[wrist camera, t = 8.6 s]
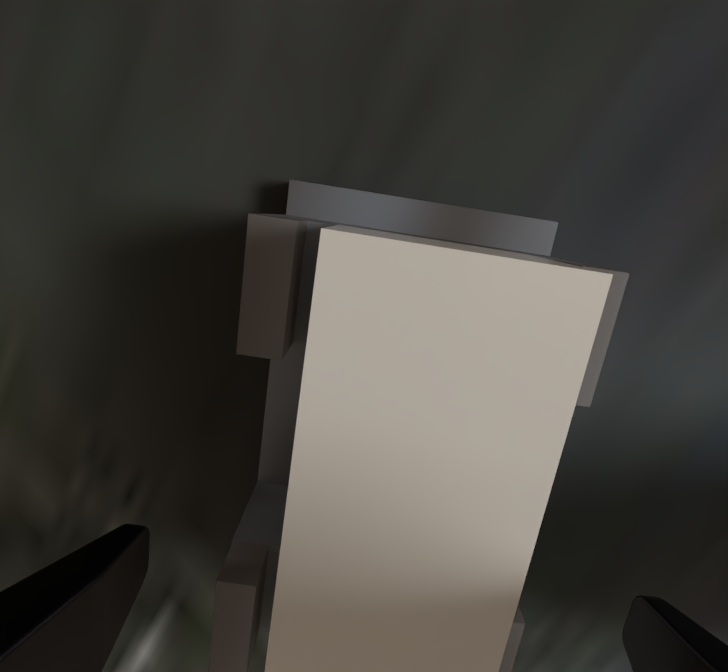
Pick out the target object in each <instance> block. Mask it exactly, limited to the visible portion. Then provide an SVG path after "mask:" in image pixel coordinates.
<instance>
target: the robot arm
mask: <svg viewBox="0 0 728 672" xmlns="http://www.w3.org/2000/svg"><path fill="white" fill-rule="evenodd" d="M149 536H150V534H149V529H148V528H147V527H146V526H140V525H133V524H124V525H122V526H120V527H118V528H116V529H114V530H112V531H111V532H109V533H107V534H105V535H103V536H102V537H100V538H98V539H96V540H94V541H92V542H91V543H89V544H87V545H85V546H83V547H81V548H80V549H78V550H76V551H74V552H72V553H70V554H69V555H67V556H65V557H63V558H61V559H59V560H58V561H56V562H54V563H52V564H50V565H49V566H47V567H45V568H43V569H41V570H39V571H38V572H36V573H34V574H32V575H30V576H28V577H27V578H25V579H23V580H21V581H19V582H17V583H16V584H14V585H12V586H10V587H8V588H7V589H5V590H3V591H1V592H0V672H101V671H102V669H103V667H104V665H105V663H106V661H107V659H108V657H109V655H110V653H111V651H112V648H113V646H114V644H115V642H116V640H117V638H118V635H119V633H120V631H121V629H122V627H123V625H124V622H125V620H126V618H127V616H128V614H129V612H130V609H131V607H132V605H133V603H134V601H135V599H136V596H137V594H138V592H139V590H140V588H141V586H142V583H143V581H144V579H145V576H146V573H147V569H148V560H149ZM623 643H624V646H625V649H626V652H627V655H628V658H629V660H630V663H631V666H632V669H633V671H634V672H728V646H727V645H726V644H725V643H723V642H722V641H720V640H719V639H718V638H716V637H715V636H713V635H712V634H711V633H709V632H708V631H706V630H705V629H704V628H702V627H701V626H699V625H698V624H697V623H695V622H694V621H693V620H691V619H690V618H688V617H687V616H686V615H684V614H683V613H681V612H680V611H679V610H677V609H676V608H674V607H673V606H672V605H670V604H669V603H667V602H666V601H665V600H663V599H661V598H658V597H651V596H644V595H640V596H637V597H636V598H635V599H634V601H633V603H632V606H631V608H630V611H629V614H628V617H627V620H626V622H625V625H624V628H623Z"/></svg>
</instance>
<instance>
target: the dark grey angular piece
mask: <svg viewBox="0 0 728 672" xmlns="http://www.w3.org/2000/svg"><path fill="white" fill-rule="evenodd" d="M334 225H345V226H351V227H358V228H364V229H370V230H377V231H383V232H389V233H396V234H402V235H408V236H414V237H421V238H427V239H433V240H440V241H446V242H452V243H459V244H465V245H471V246H478V247H484V248H490V249H496V250H503V251H509V252H515V253H522V254H528V255H532V256H536V257H541V258H545V259H549V260H554V261H558V262H562V263H567V264H571V265H575V266H579V267H584V268H588V269H592V270H597V271H601V272H605V273H610V274H613V277H612V281H611V284H610V287H609V291H608V294H607V298H606V301H605V305H604V308H603V312H602V315H601V319H600V322H599V326H598V329H597V332H596V336H595V339H594V343H593V346H592V350H591V353H590V357H589V360H588V364H587V367H586V371H585V374H584V377H583V381H582V384H581V388H580V391H579V395H578V398H577V402H576V405H579V406H586V407H590V405H591V402H592V398H593V395H594V392H595V388H596V385H597V381H598V378H599V375H600V371H601V368H602V365H603V361H604V358H605V355H606V351H607V348H608V344H609V341H610V338H611V334H612V331H613V328H614V324H615V321H616V317H617V314H618V311H619V307H620V304H621V301H622V297H623V294H624V290H625V287H626V284H627V280H628V277H629V274H630V273H626V272H621V271H616V270H612V269H607V268H602V267H598V266H594V265H589V264H584V263H580V262H575V261H570V260H565V259H561V258H556V257H551V256H550V254H551V250H552V246H553V242H554V238H555V234H556V230H557V226H558V222H553V221H547V220H541V219H534V218H528V217H522V216H516V215H509V214H503V213H497V212H490V211H484V210H478V209H472V208H465V207H459V206H453V205H446V204H440V203H434V202H428V201H421V200H415V199H409V198H403V197H396V196H390V195H384V194H377V193H371V192H365V191H359V190H352V189H346V188H340V187H333V186H327V185H321V184H315V183H308V182H302V181H296V180H290V181H289V191H288V200H287V209H286V215H283V214H253V213H248V223H247V235H246V246H245V258H244V269H243V281H242V292H241V304H240V315H239V327H238V338H237V350H236V354H240V355H246V356H253V357H260V358H266V359H270V368H269V378H268V387H267V396H266V406H265V415H264V424H263V434H262V443H261V452H260V462H259V471H258V480H257V483H256V486H255V488H254V490H253V493H252V495H251V497H250V499H249V502H248V504H247V506H246V509H245V511H244V513H243V516H242V518H241V520H240V523H239V525H238V527H237V529H236V532H235V534H234V536H233V539H232V544H231V548H230V550H229V552H228V555H227V557H226V559H225V562H224V564H223V566H222V569H221V571H220V573H219V576H218V578H217V581H216V590H215V602H214V613H213V625H212V636H211V648H210V659H209V670H208V672H248V668H249V664H250V661H251V657H252V653H253V650H254V646H255V642H256V639H257V635H258V631H259V630H261V631H268V632H270V625H271V618H272V610H273V602H274V594H275V586H276V578H277V570H278V563H279V555H280V547H281V539H282V531H283V523H284V515H285V508H286V500H287V492H288V484H289V476H290V468H291V461H292V453H293V445H294V437H295V429H296V421H297V413H298V406H299V398H300V390H301V382H302V374H303V366H304V358H305V351H306V343H307V335H308V327H309V319H310V311H311V304H312V296H313V288H314V280H315V272H316V264H317V256H318V249H319V241H320V233H321V228H324V227H329V226H334ZM524 628H525V621H524V618H523V616H522V613H521V610H520V608H519V605H518V606H517V609H516V613H515V616H514V620H513V623H512V627H511V630H510V634H509V637H508V641H507V644H506V647H505V651H504V654H503V658H502V661H501V665H500V668H499V672H512V668H513V665H514V661H515V658H516V655H517V651H518V648H519V645H520V641H521V638H522V634H523V631H524Z"/></svg>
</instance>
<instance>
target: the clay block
mask: <svg viewBox="0 0 728 672" xmlns="http://www.w3.org/2000/svg"><path fill="white" fill-rule="evenodd" d="M612 277H613V274H610V273H605V272H601V271H597V270H592V269H588V268H584V267H579V266H575V265H571V264H567V263H562V262H558V261H554V260H549V259H545V258H541V257H536V256H532V255H528V254H522V253H515V252H509V251H503V250H496V249H490V248H484V247H478V246H471V245H465V244H459V243H452V242H446V241H440V240H433V239H427V238H421V237H414V236H408V235H402V234H396V233H389V232H383V231H377V230H370V229H364V228H358V227H351V226H345V225H334V226H329V227H324V228H321V233H320V241H319V249H318V256H317V264H316V272H315V280H314V288H313V296H312V304H311V311H310V319H309V327H308V335H307V343H306V351H305V358H304V366H303V374H302V382H301V390H300V398H299V406H298V413H297V421H296V429H295V437H294V445H293V453H292V461H291V468H290V476H289V484H288V492H287V500H286V508H285V515H284V523H283V531H282V539H281V547H280V555H279V563H278V570H277V578H276V586H275V594H274V602H273V610H272V618H271V625H270V633H269V641H268V649H267V657H266V665H265V672H499V668H500V665H501V661H502V658H503V654H504V651H505V647H506V644H507V641H508V637H509V634H510V630H511V627H512V623H513V620H514V616H515V613H516V609H517V606H518V602H519V599H520V596H521V592H522V589H523V585H524V582H525V578H526V575H527V571H528V568H529V564H530V561H531V557H532V554H533V551H534V547H535V544H536V540H537V537H538V533H539V530H540V526H541V523H542V519H543V516H544V512H545V509H546V506H547V502H548V499H549V495H550V492H551V488H552V485H553V481H554V478H555V474H556V471H557V467H558V464H559V461H560V457H561V454H562V450H563V447H564V443H565V440H566V436H567V433H568V429H569V426H570V422H571V419H572V416H573V412H574V409H575V405H576V402H577V398H578V395H579V391H580V388H581V384H582V381H583V377H584V374H585V371H586V367H587V364H588V360H589V357H590V353H591V350H592V346H593V343H594V339H595V336H596V332H597V329H598V326H599V322H600V319H601V315H602V312H603V308H604V305H605V301H606V298H607V294H608V291H609V287H610V284H611V281H612Z"/></svg>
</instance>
